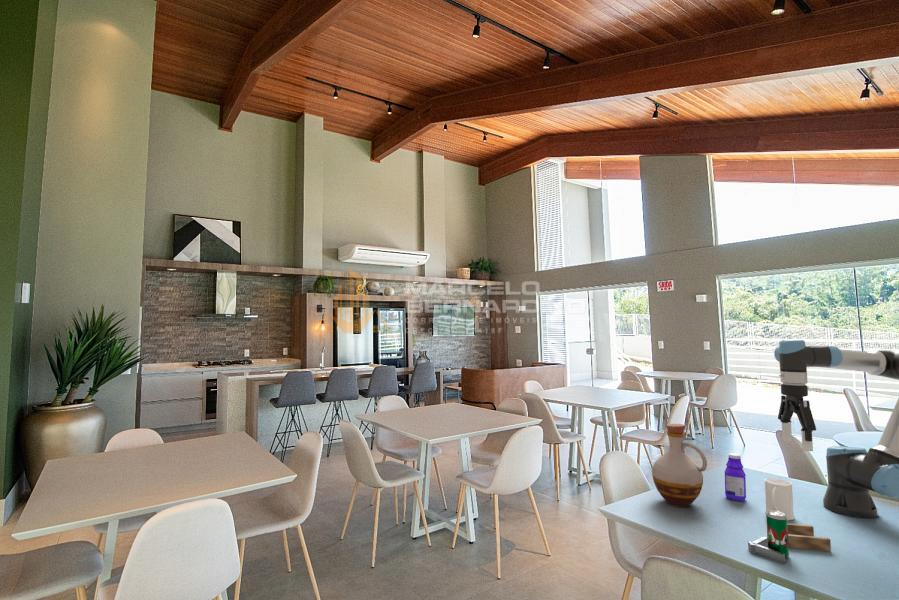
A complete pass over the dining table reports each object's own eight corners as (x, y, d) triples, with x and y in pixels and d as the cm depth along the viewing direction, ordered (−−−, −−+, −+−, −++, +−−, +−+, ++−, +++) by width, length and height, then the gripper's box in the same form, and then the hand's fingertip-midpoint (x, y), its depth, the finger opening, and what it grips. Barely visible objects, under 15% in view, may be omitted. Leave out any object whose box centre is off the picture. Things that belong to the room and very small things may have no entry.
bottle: (746, 498, 181) (744, 453, 182) (746, 503, 176) (744, 457, 177) (725, 495, 185) (723, 451, 186) (724, 499, 180) (723, 454, 181)
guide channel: (811, 536, 147) (811, 525, 147) (831, 551, 137) (830, 539, 137) (770, 532, 150) (769, 521, 150) (785, 547, 140) (785, 535, 140)
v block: (767, 545, 141) (766, 536, 141) (786, 564, 129) (786, 555, 129) (741, 542, 143) (741, 534, 143) (758, 561, 131) (758, 552, 131)
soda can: (787, 553, 136) (785, 511, 137) (790, 560, 131) (788, 517, 132) (766, 549, 138) (765, 508, 139) (769, 556, 134) (767, 514, 135)
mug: (785, 524, 156) (784, 488, 157) (757, 516, 163) (756, 482, 164) (798, 516, 163) (796, 482, 164) (770, 509, 170) (769, 476, 171)
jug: (714, 504, 175) (712, 424, 177) (702, 517, 162) (699, 432, 164) (661, 492, 188) (659, 418, 190) (645, 503, 175) (643, 424, 177)
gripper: (765, 380, 172) (768, 437, 170) (800, 387, 148) (803, 454, 146) (788, 380, 170) (791, 438, 169) (827, 388, 146) (830, 456, 144)
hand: (797, 446), depth 157 cm, fingers open, 13 cm apart
